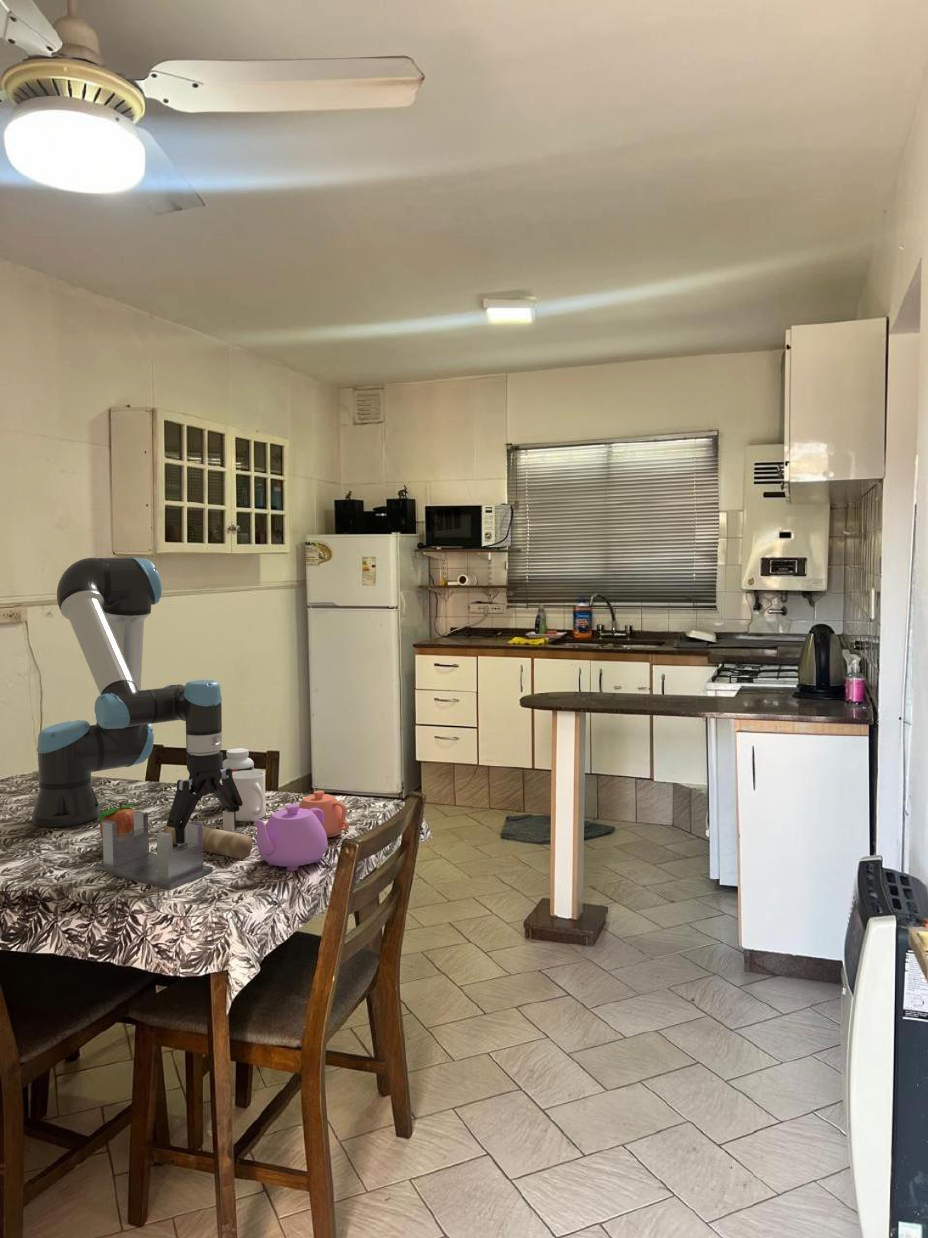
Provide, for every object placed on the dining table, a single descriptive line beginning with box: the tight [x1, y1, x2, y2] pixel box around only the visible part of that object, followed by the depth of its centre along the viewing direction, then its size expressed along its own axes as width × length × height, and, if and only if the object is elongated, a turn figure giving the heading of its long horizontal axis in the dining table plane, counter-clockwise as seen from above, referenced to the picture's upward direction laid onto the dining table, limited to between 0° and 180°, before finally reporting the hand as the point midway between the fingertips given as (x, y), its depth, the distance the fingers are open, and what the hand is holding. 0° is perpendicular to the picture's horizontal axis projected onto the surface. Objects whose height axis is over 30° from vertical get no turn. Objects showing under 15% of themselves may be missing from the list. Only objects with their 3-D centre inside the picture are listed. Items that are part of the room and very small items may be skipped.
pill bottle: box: [221, 747, 255, 793], centre depth 224 cm, size 8×8×14 cm
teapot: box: [251, 803, 329, 872], centre depth 180 cm, size 20×14×12 cm
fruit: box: [97, 801, 139, 840], centre depth 192 cm, size 9×10×10 cm
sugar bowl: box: [298, 790, 350, 839], centre depth 199 cm, size 12×14×10 cm
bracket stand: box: [94, 810, 214, 891], centre depth 176 cm, size 22×11×10 cm, turn 60°
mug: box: [232, 769, 267, 822], centre depth 213 cm, size 9×12×11 cm
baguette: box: [162, 823, 253, 860], centre depth 190 cm, size 22×5×5 cm, turn 60°
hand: (207, 848), depth 190 cm, fingers open, 12 cm apart
